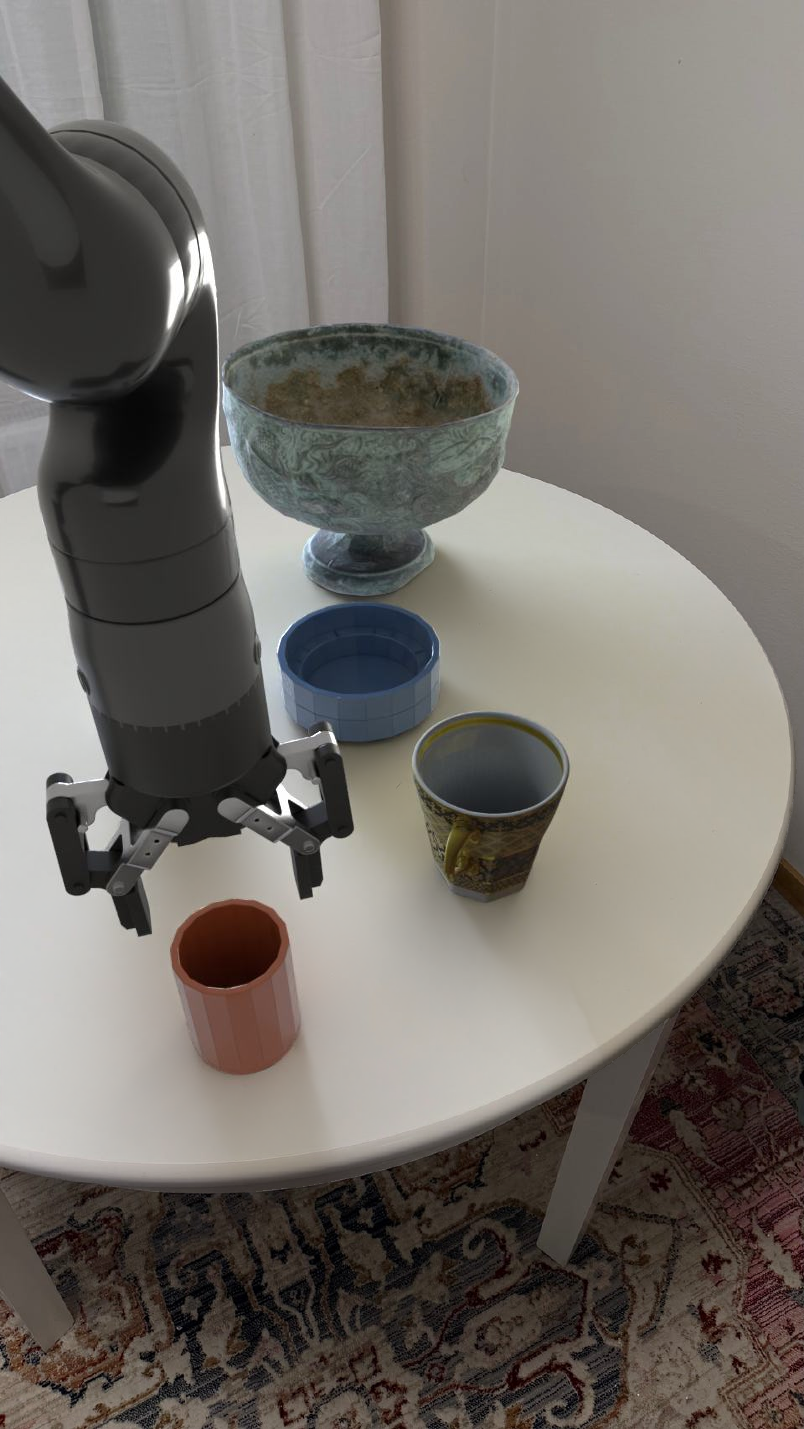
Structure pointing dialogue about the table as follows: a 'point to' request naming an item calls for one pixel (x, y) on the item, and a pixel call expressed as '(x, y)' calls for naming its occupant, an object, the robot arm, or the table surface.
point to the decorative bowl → (367, 440)
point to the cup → (237, 985)
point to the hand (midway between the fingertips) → (224, 904)
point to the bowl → (360, 670)
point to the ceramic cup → (488, 798)
